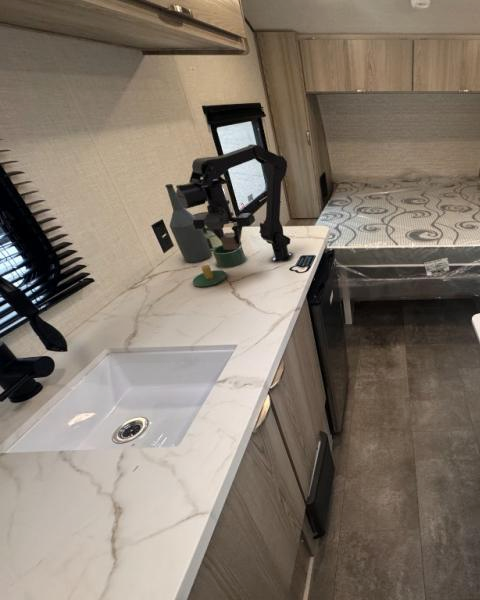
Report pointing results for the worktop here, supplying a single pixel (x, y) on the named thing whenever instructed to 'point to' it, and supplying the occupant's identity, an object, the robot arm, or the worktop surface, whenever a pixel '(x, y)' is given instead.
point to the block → (229, 241)
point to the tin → (229, 256)
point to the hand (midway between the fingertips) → (232, 244)
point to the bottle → (187, 231)
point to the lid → (209, 277)
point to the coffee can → (210, 235)
